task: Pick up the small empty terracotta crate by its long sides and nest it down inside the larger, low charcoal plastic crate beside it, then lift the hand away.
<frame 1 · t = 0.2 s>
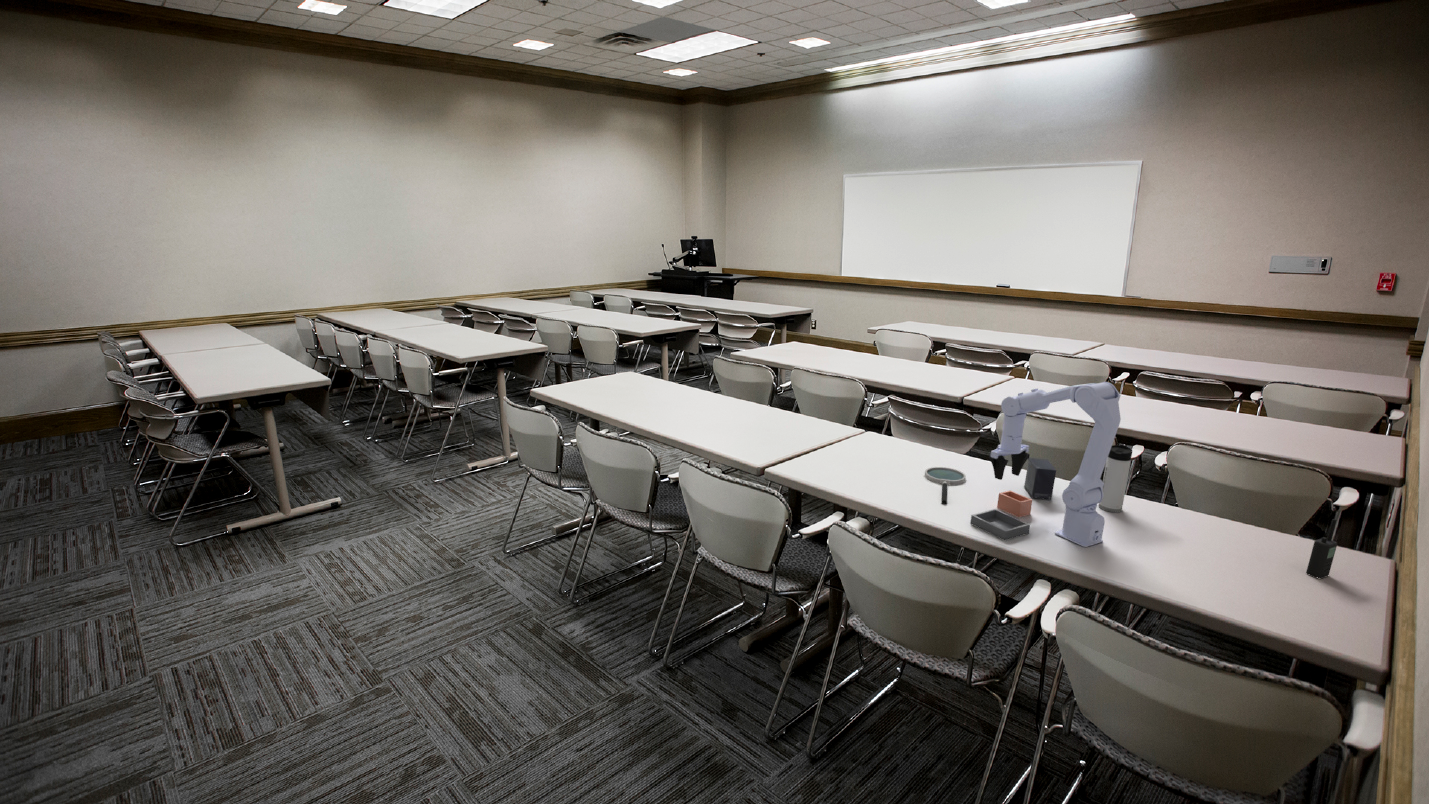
hand: (1006, 476, 207), 10 cm above the table, tool pointing down, fingers open, 7 cm apart
terracotta crate: (1013, 511, 205), on the table
charcoal crate: (999, 529, 193), on the table
travel mug: (1110, 508, 208), on the table
small box: (1037, 494, 219), on the table
walkie-talkie: (1316, 575, 170), on the table
magnifying glass: (944, 488, 224), on the table
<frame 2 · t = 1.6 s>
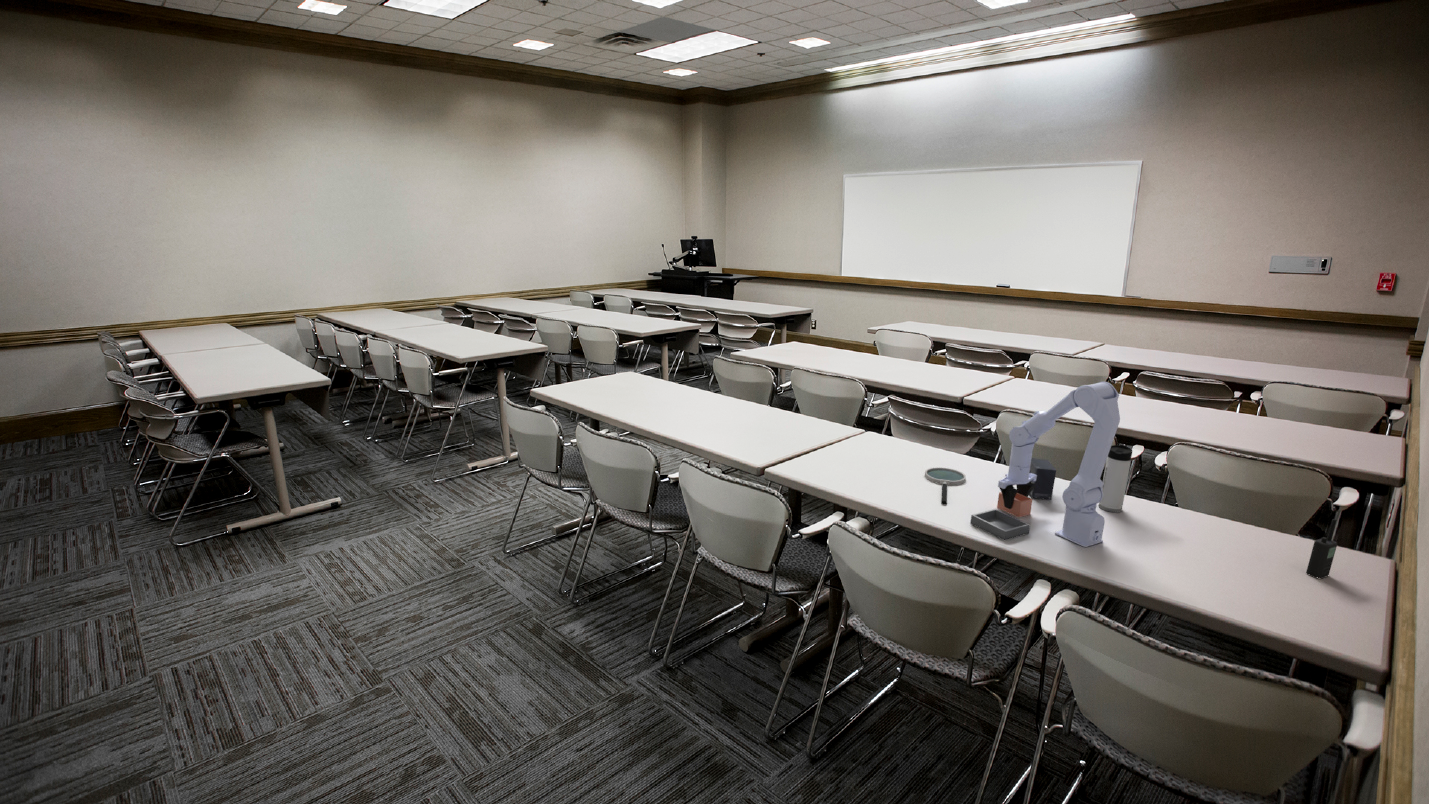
hand: (1014, 506, 205), 2 cm above the table, tool pointing down, fingers closed on terracotta crate, 5 cm apart
terracotta crate: (1013, 511, 205), on the table, touching gripper
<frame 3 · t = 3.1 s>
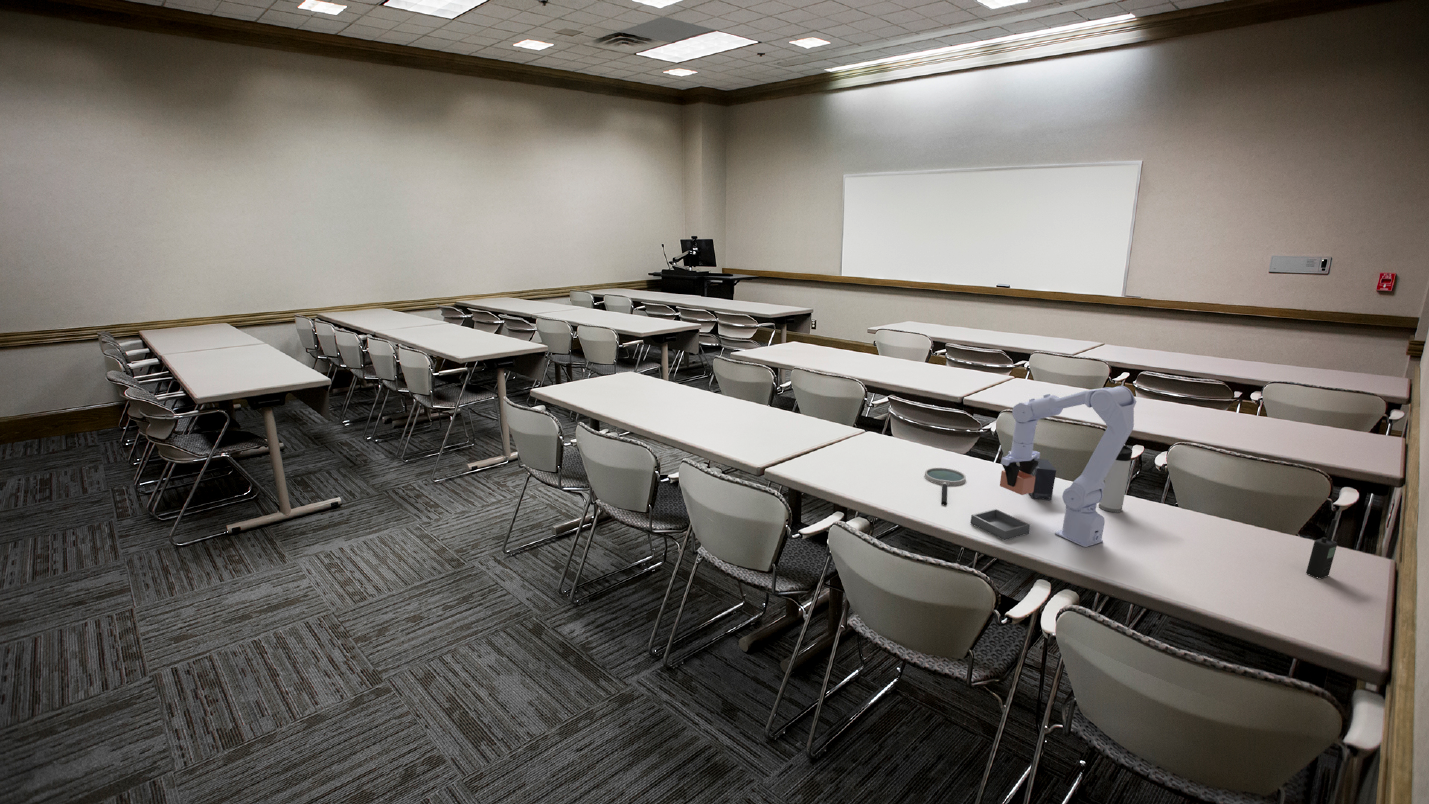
hand: (1017, 483, 203), 9 cm above the table, tool pointing down, fingers closed on terracotta crate, 5 cm apart
terracotta crate: (1016, 489, 203), point 7 cm above the table, touching gripper
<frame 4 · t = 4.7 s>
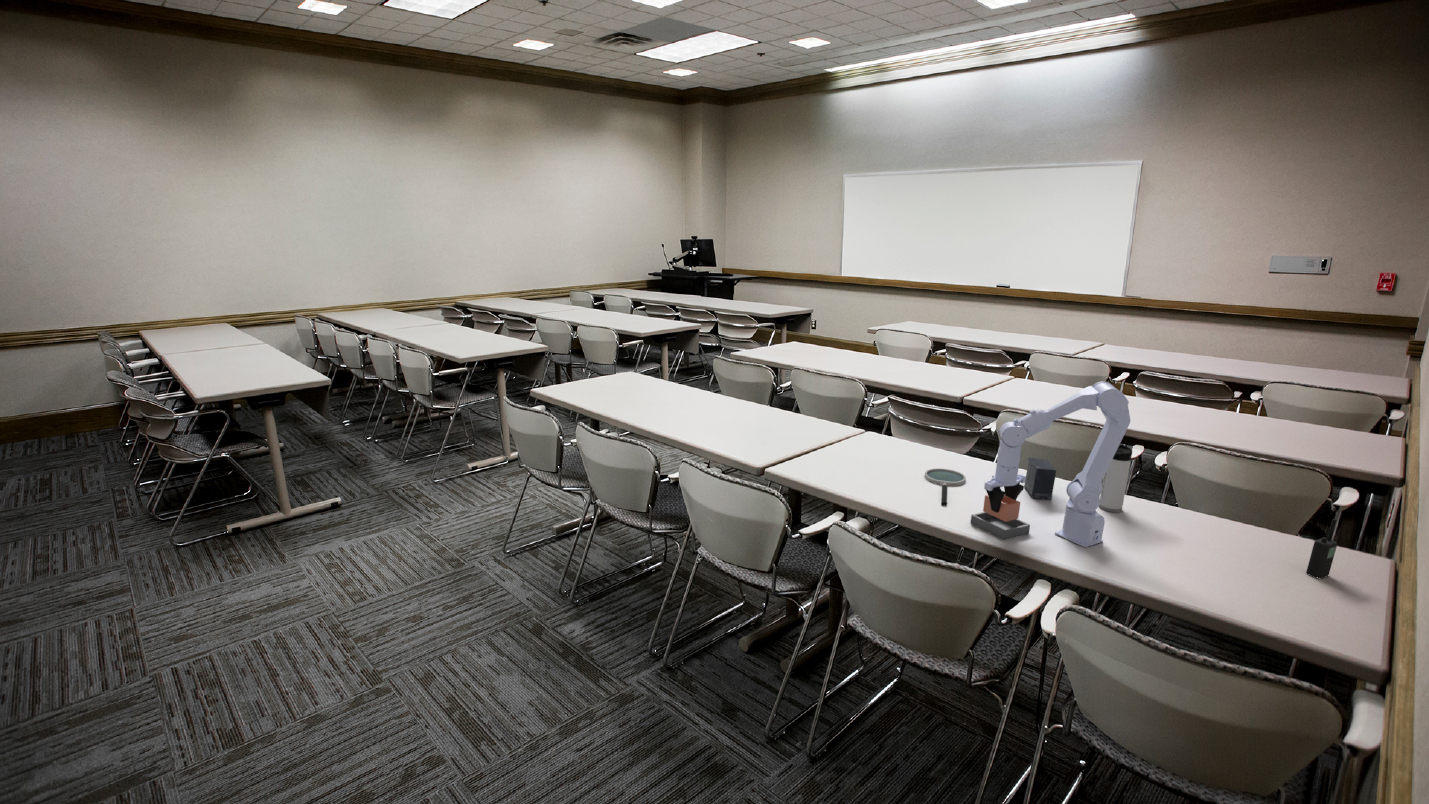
hand: (1001, 509, 192), 6 cm above the table, tool pointing down, fingers closed on terracotta crate, 5 cm apart
terracotta crate: (1000, 514, 192), point 4 cm above the table, touching gripper
when the fingers open (4 cm above the table, at t = 6.0 s): terracotta crate drops 2 cm, resting on charcoal crate.
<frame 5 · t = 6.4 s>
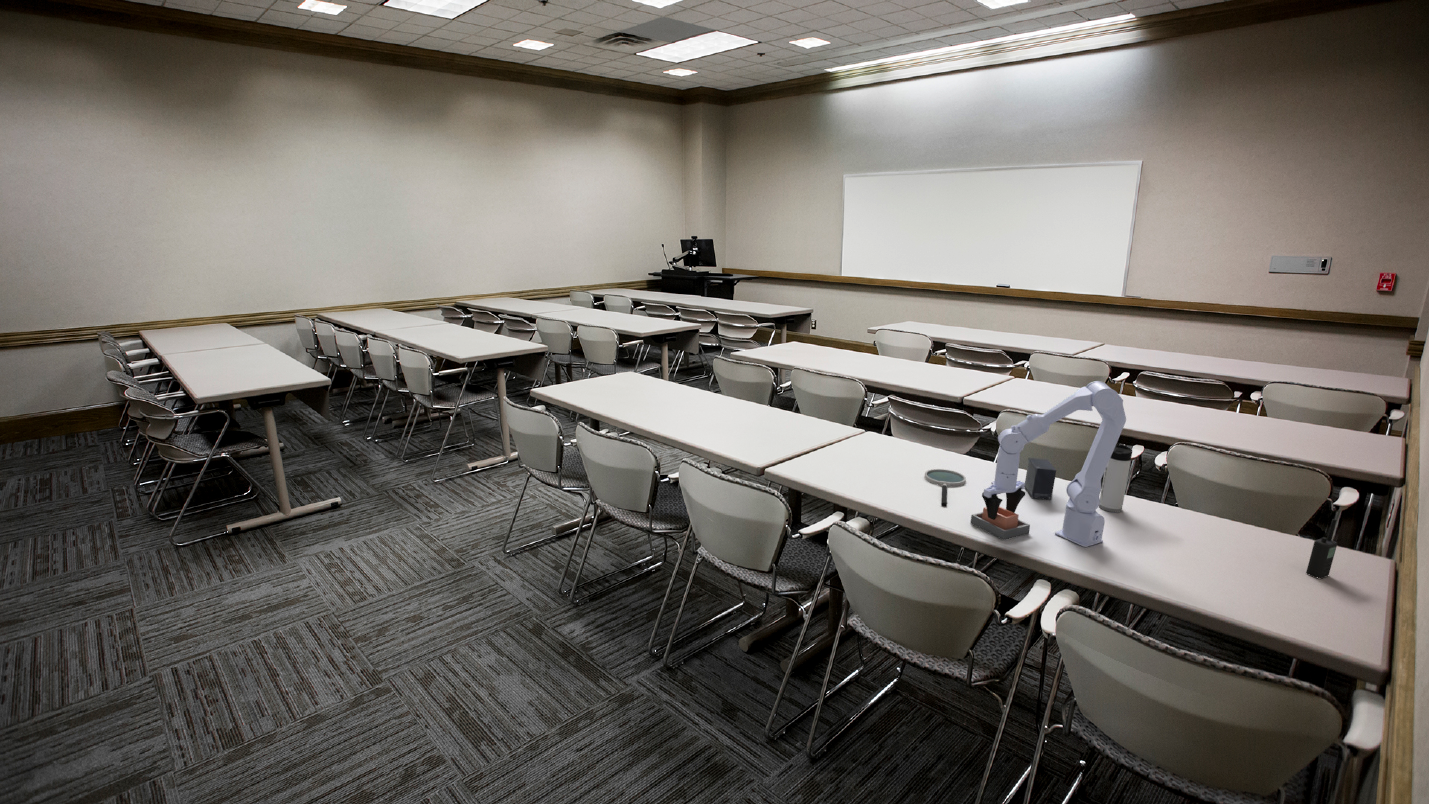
hand: (1000, 515, 192), 4 cm above the table, tool pointing down, fingers open, 7 cm apart
terracotta crate: (998, 527, 193), resting on charcoal crate
charcoal crate: (999, 529, 193), on the table, touching terracotta crate
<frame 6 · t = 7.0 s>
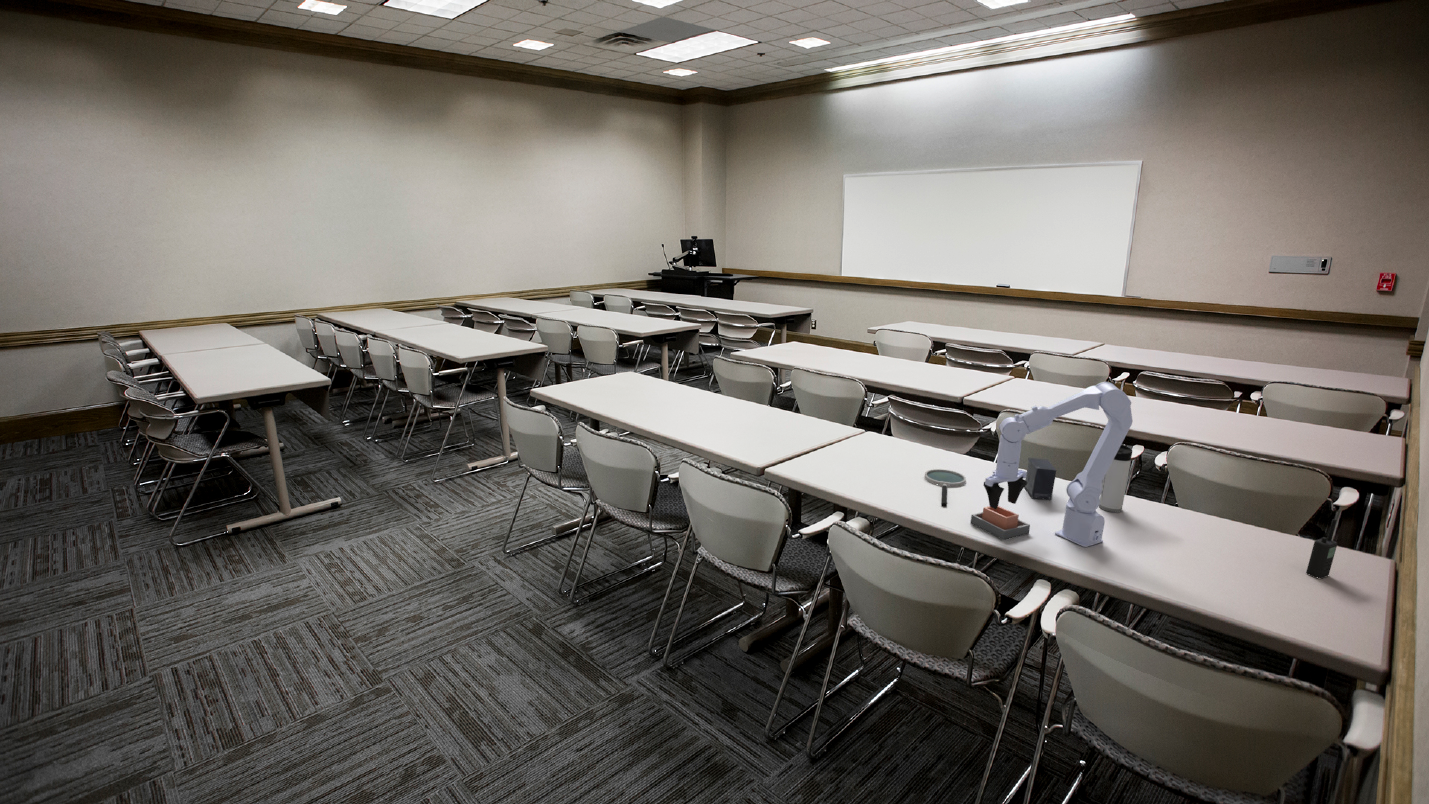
hand: (1002, 505, 191), 7 cm above the table, tool pointing down, fingers open, 7 cm apart
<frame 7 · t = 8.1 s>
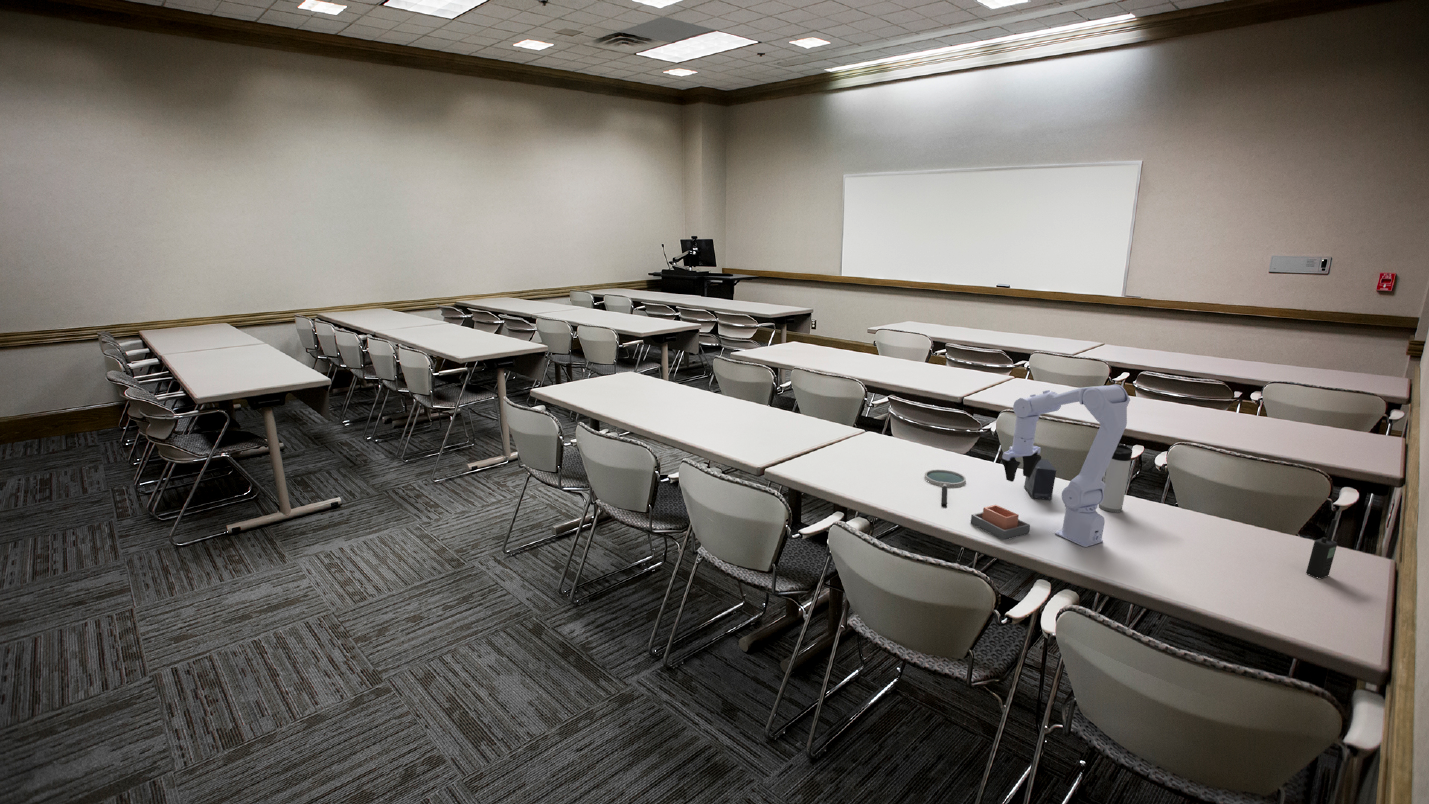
hand: (1018, 478, 206), 9 cm above the table, tool pointing down, fingers open, 7 cm apart
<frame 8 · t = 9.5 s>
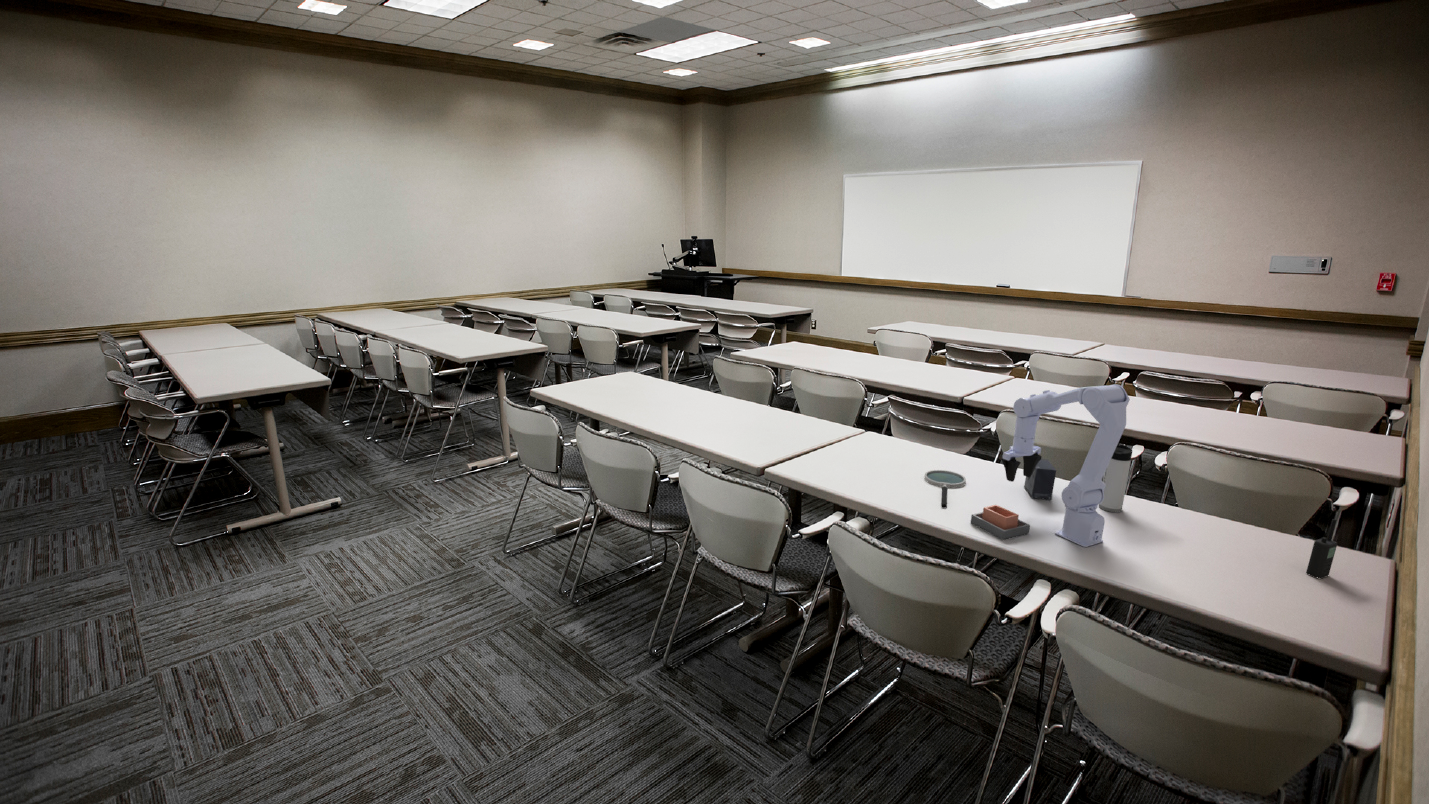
hand: (1018, 478, 206), 9 cm above the table, tool pointing down, fingers open, 7 cm apart
at the end: terracotta crate 0.2 cm off-centre on the charcoal crate, point 0.6 cm above the charcoal crate's base; terracotta crate tilted 0°; the gripper is holding nothing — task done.
